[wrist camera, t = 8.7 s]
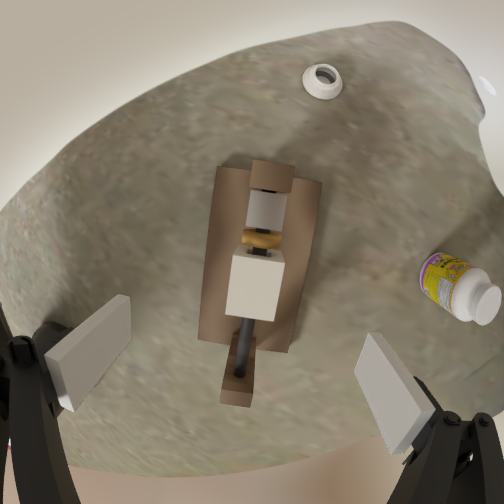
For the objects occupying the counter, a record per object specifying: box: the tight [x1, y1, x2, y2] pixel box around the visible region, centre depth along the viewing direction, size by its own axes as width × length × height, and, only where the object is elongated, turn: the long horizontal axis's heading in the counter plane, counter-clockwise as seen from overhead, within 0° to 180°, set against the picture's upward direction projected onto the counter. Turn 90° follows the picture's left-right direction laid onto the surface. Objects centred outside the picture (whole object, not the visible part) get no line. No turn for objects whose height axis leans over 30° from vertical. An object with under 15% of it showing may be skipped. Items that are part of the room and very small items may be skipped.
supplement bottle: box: [420, 253, 501, 325], centre depth 27 cm, size 7×7×13 cm
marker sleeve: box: [225, 244, 285, 322], centre depth 23 cm, size 4×5×4 cm
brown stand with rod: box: [198, 160, 322, 408], centre depth 27 cm, size 12×22×13 cm, turn 172°
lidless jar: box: [302, 64, 343, 100], centre depth 27 cm, size 5×3×5 cm
